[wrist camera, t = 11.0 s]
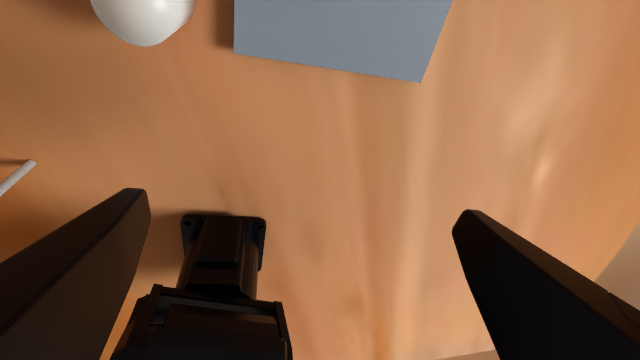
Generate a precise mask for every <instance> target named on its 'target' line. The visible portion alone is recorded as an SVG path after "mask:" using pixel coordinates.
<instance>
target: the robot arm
mask: <svg viewBox="0 0 640 360" xmlns="http://www.w3.org/2000/svg"><path fill="white" fill-rule="evenodd" d="M150 219H151V213H150V208H149V202H148V197H147V193H146V191H145V190H144V189H140V188H125V189H123V190H121V191H120V192H118V193H116V194H115V195H113V196H111V197H110V198H108V199H106V200H105V201H103V202H101V203H100V204H98V205H96V206H95V207H93V208H91V209H90V210H88V211H86V212H85V213H83V214H81V215H80V216H78V217H76V218H75V219H73V220H71V221H70V222H68V223H66V224H65V225H63V226H61V227H60V228H58V229H56V230H55V231H53V232H51V233H50V234H48V235H46V236H45V237H43V238H41V239H40V240H38V241H36V242H35V243H33V244H31V245H30V246H28V247H26V248H25V249H23V250H21V251H20V252H18V253H16V254H15V255H13V256H11V257H10V258H8V259H6V260H5V261H3V262H1V263H0V360H99V359H100V357H101V354H102V352H103V350H104V347H105V345H106V342H107V340H108V338H109V335H110V333H111V331H112V328H113V326H114V324H115V321H116V319H117V317H118V314H119V312H120V310H121V307H122V305H123V303H124V300H125V298H126V296H127V293H128V291H129V288H130V286H131V284H132V281H133V278H134V276H135V272H136V269H137V266H138V262H139V259H140V255H141V252H142V248H143V245H144V241H145V238H146V234H147V231H148V227H149V224H150ZM187 221H190V222H187ZM258 224H262V225H258ZM181 231H182V239H183V248H184V256H185V257H184V261H183V264H182V268H181V271H180V274H179V278H178V281H177V285H176V288H170V287H163V285H160V284H154V285H153V287H152V290H151V292H150V295H149V294H146V296H144V297H141V298H138V299H137V302H136V304H135V307H134V309H133V312H132V314H131V317H130V319H129V322H128V324H127V326H126V328H125V330H124V332H123V334H122V336H121V338H120V340H119V342H118V344H117V346H116V348H115V349H114V351H113V353H112V355H111V358H110V360H293V354H292V347H291V342H290V337H289V333H288V328H287V324H286V319H285V315H284V310H283V305H282V302H278V301H274V302H269V301H262V300H256V294H257V274H258V271H260V270H261V266H262V257H263V249H264V240H265V231H266V221H265V220H264V219H261V218H242V217H221V216H200V215H185V216H183V217H182V220H181ZM452 236H453V239H454V243H455V246H456V249H457V252H458V255H459V258H460V262H461V265H462V268H463V271H464V274H465V277H466V280H467V282H468V285H469V287H470V290H471V292H472V295H473V297H474V299H475V302H476V304H477V306H478V309H479V311H480V313H481V316H482V318H483V320H484V323H485V325H486V327H487V330H488V332H489V335H490V337H491V339H492V342H493V344H494V346H495V349H496V351H497V353H498V356H499V358H500V360H640V311H639V310H638V309H636V308H635V307H633V306H631V305H630V304H628V303H626V302H625V301H623V300H621V299H620V298H618V297H617V296H615V295H613V294H612V293H609V292H608V291H607V290H605V289H604V288H602V287H601V286H599V285H597V284H596V283H594V282H593V281H591V280H590V279H588V278H586V277H585V276H583V275H582V274H580V273H578V272H577V271H575V270H574V269H572V268H570V267H569V266H567V265H566V264H564V263H562V262H561V261H559V260H558V259H556V258H554V257H553V256H551V255H550V254H548V253H546V252H545V251H543V250H542V249H540V248H538V247H537V246H535V245H534V244H532V243H531V242H529V241H527V240H526V239H524V238H523V237H521V236H519V235H518V234H516V233H515V232H513V231H511V230H510V229H508V228H507V227H505V226H503V225H502V224H500V223H499V222H497V221H495V220H494V219H492V218H491V217H489V216H487V215H486V214H484V213H483V212H481V211H479V210H470V209H467V210H465V211H463V212H462V214H461V215H460V217H459V218H458V220H457V222H456V223H455V225H454V226H453V229H452Z"/></svg>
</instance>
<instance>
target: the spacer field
mask: <svg viewBox="0 0 640 360" xmlns="http://www.w3.org/2000/svg"><path fill="white" fill-rule="evenodd" d="M90 2H91V5H92V7H93V9H94V11H95V13H96V15H97V17H98V18H99V20H100V21H101V22H102V23H103V25H104V26H105V27H106V28H107V29H108V30H109V31H110V32H112V33H113V34H114V35H115V36H117V37H118V38H120V39H122V40H123V41H126V42H128V43H130V44H133V45H138V46H153V45H156V44H159V43H161V42H163V41H164V40H165V39H166V38H168V37H169V36H170V35H171V34H173V33H174V32H175V31H177V30H178V29H179V28H180V27H182V26H183V25H184V24H186V23H187V22H188V21H189V20H190V19H191V17H192V15H193V13H194V10H195V0H90Z"/></svg>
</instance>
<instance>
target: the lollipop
mask: <svg viewBox="0 0 640 360" xmlns="http://www.w3.org/2000/svg"><path fill="white" fill-rule="evenodd" d="M35 165H36V163H35V162H34V161H33V160H28V161H27V162H25V163H24V164H23V165H22V166H21V167H19V168H18V169H17V170H16V171H15V172H13V173H12V174H11V175H10V176H9V177H8V178H6V179H5V180H4V181H3V182H2V183H0V196H1V195H2V194H4V193H5V192H6V191H7V190H8V189H9V188H10V187H11V186H13V185H14V184H15V183H16V182H17V181H18V180H19V179H20V178H22V177H23V176H24V175H25V174H26V173H27V172H28V171H29V170H31V169H32V168H33V167H34V166H35Z"/></svg>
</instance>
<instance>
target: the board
mask: <svg viewBox="0 0 640 360" xmlns="http://www.w3.org/2000/svg"><path fill="white" fill-rule="evenodd" d="M452 1H453V0H234V53H235V54H241V55H248V56H254V57H260V58H267V59H273V60H279V61H285V62H292V63H298V64H304V65H311V66H317V67H323V68H330V69H336V70H342V71H349V72H355V73H361V74H368V75H374V76H380V77H386V78H393V79H399V80H405V81H412V82H418V83H421V81H422V78H423V76H424V73H425V71H426V68H427V66H428V63H429V60H430V58H431V55H432V53H433V50H434V47H435V45H436V42H437V40H438V37H439V34H440V32H441V29H442V27H443V24H444V21H445V19H446V16H447V14H448V11H449V8H450V6H451V3H452Z"/></svg>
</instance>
